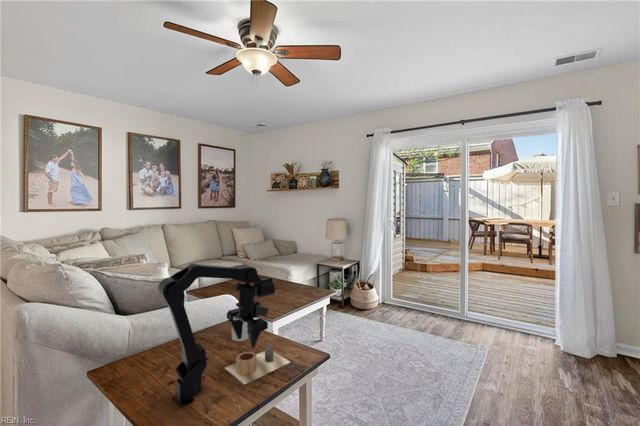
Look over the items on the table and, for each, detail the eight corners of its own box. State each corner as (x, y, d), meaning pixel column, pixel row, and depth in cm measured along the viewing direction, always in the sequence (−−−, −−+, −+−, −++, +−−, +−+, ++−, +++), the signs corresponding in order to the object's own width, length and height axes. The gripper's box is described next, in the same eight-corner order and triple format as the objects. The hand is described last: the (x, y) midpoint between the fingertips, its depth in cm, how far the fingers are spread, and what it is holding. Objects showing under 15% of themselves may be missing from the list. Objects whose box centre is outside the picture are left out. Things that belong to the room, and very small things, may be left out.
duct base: (244, 388, 100) (244, 369, 99) (224, 371, 109) (224, 354, 109) (290, 365, 114) (290, 349, 114) (269, 352, 124) (269, 337, 123)
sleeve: (243, 378, 103) (243, 363, 103) (233, 370, 108) (233, 356, 108) (259, 370, 108) (259, 356, 108) (249, 363, 113) (249, 350, 113)
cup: (227, 338, 136) (227, 312, 136) (240, 332, 143) (240, 307, 143) (241, 342, 132) (241, 316, 132) (253, 335, 139) (253, 310, 139)
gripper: (280, 301, 106) (279, 344, 107) (251, 290, 120) (251, 328, 120) (253, 309, 99) (253, 355, 99) (226, 296, 112) (225, 337, 112)
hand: (246, 342), depth 108 cm, fingers open, 9 cm apart
